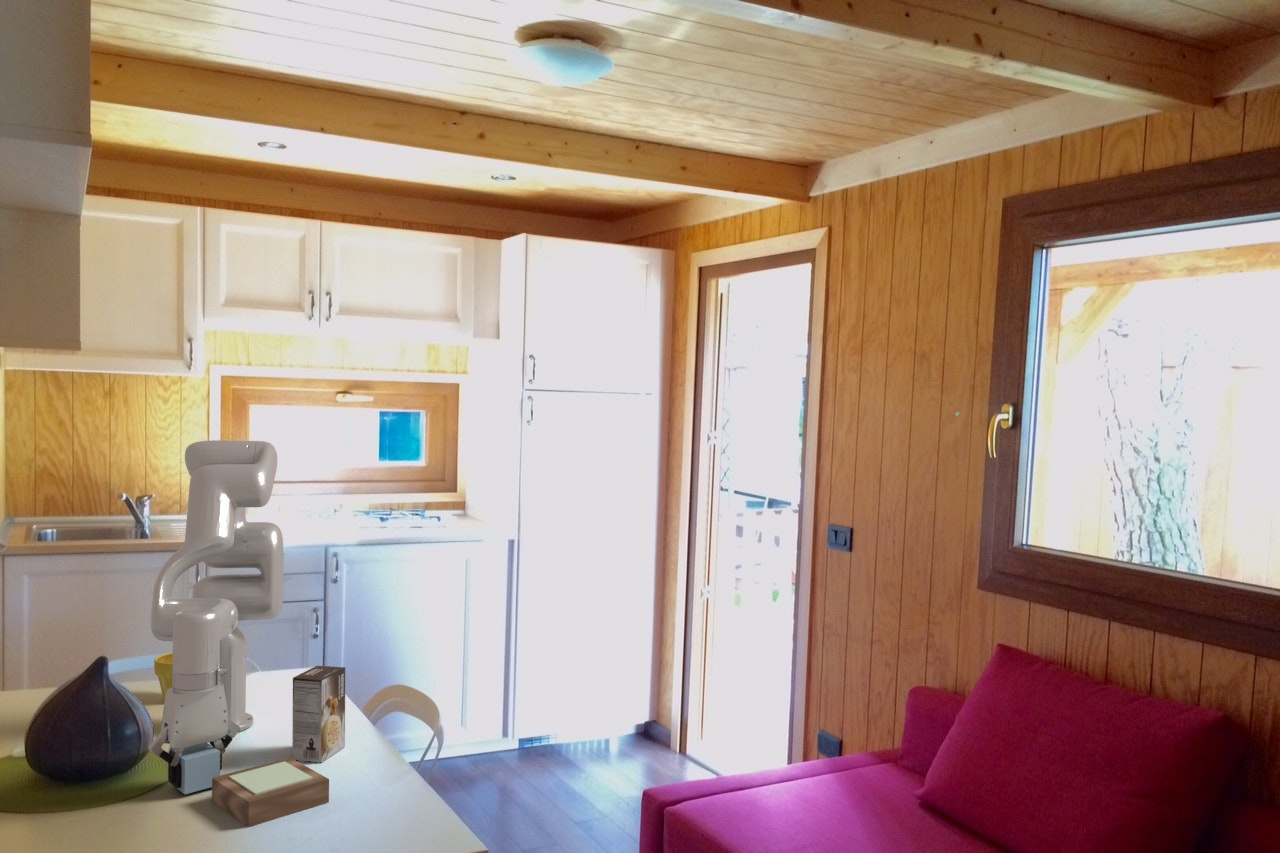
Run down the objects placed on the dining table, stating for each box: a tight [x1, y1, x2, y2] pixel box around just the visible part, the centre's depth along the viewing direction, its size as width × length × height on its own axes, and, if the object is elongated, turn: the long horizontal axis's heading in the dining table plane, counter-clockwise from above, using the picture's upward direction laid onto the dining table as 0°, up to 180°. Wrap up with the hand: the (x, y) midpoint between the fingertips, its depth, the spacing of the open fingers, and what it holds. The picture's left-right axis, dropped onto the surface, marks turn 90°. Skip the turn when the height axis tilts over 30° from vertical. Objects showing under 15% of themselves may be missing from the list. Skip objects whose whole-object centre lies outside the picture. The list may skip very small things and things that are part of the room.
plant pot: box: [153, 651, 173, 702], centre depth 221 cm, size 10×10×10 cm
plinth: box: [211, 756, 330, 828], centre depth 167 cm, size 14×14×4 cm
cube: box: [176, 742, 221, 795], centre depth 172 cm, size 6×6×6 cm
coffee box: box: [291, 665, 346, 763], centre depth 189 cm, size 9×6×16 cm
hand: (195, 779), depth 172 cm, fingers closed on cube, 6 cm apart
